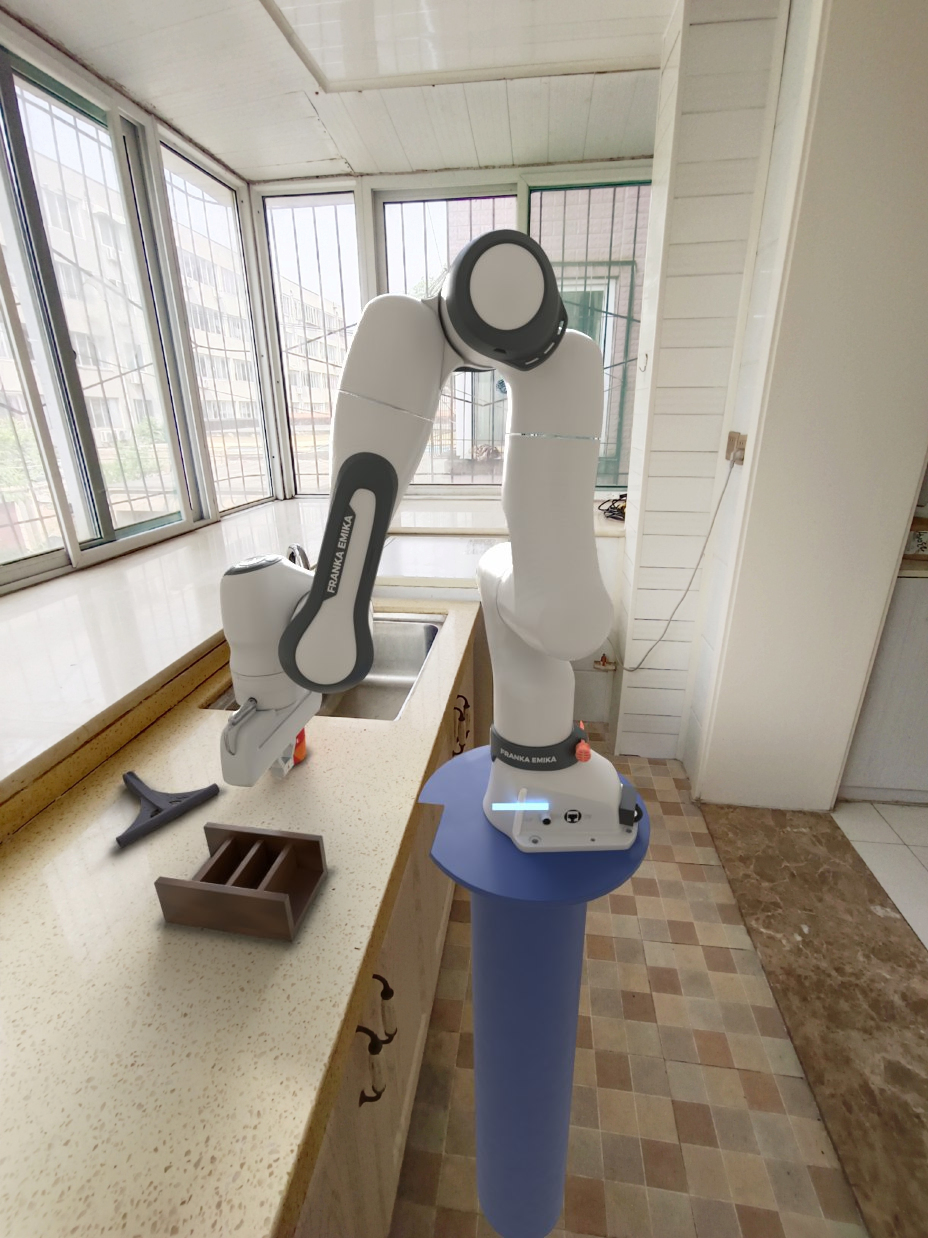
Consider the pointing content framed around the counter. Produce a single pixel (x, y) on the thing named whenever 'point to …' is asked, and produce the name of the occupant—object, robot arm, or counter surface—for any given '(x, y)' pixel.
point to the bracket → (158, 806)
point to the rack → (248, 882)
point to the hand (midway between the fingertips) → (283, 771)
